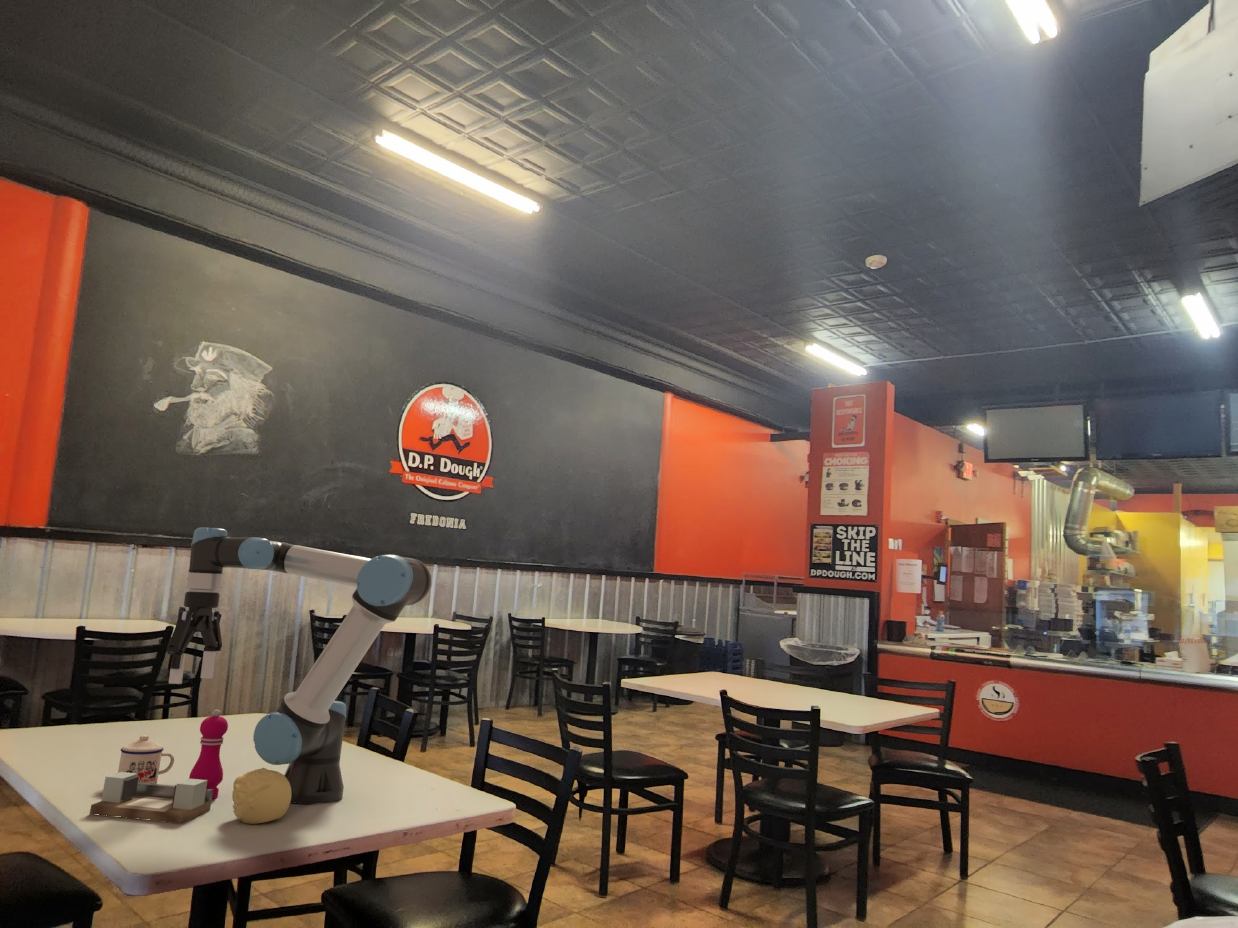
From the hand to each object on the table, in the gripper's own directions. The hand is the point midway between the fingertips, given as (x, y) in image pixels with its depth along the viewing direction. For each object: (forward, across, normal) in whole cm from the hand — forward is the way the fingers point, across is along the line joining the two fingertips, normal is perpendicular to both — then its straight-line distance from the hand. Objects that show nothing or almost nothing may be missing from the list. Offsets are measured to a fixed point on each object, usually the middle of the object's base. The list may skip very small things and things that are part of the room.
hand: (191, 680), depth 192 cm
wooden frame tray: (+26, +14, +2) cm, 30 cm away
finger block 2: (+25, +14, +10) cm, 30 cm away
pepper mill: (+27, -1, +6) cm, 27 cm away
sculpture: (+28, +12, +25) cm, 39 cm away
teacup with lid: (+26, -7, -12) cm, 29 cm away
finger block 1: (+24, +14, -5) cm, 28 cm away
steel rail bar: (+24, +9, +3) cm, 26 cm away
